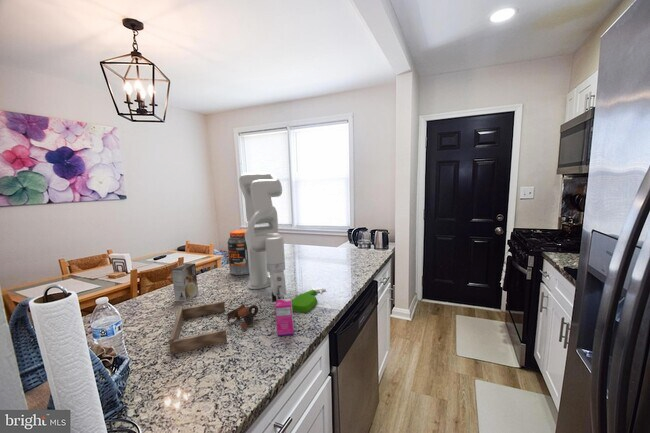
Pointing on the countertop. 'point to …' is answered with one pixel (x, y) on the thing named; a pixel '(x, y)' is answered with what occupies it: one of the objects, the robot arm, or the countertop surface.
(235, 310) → the pottery mug
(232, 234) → the supplement tub
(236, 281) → the countertop surface
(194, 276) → the coffee box
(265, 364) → the countertop surface
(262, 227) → the robot arm
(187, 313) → the wooden u-shaped frame
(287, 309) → the supplement box
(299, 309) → the spray bottle
